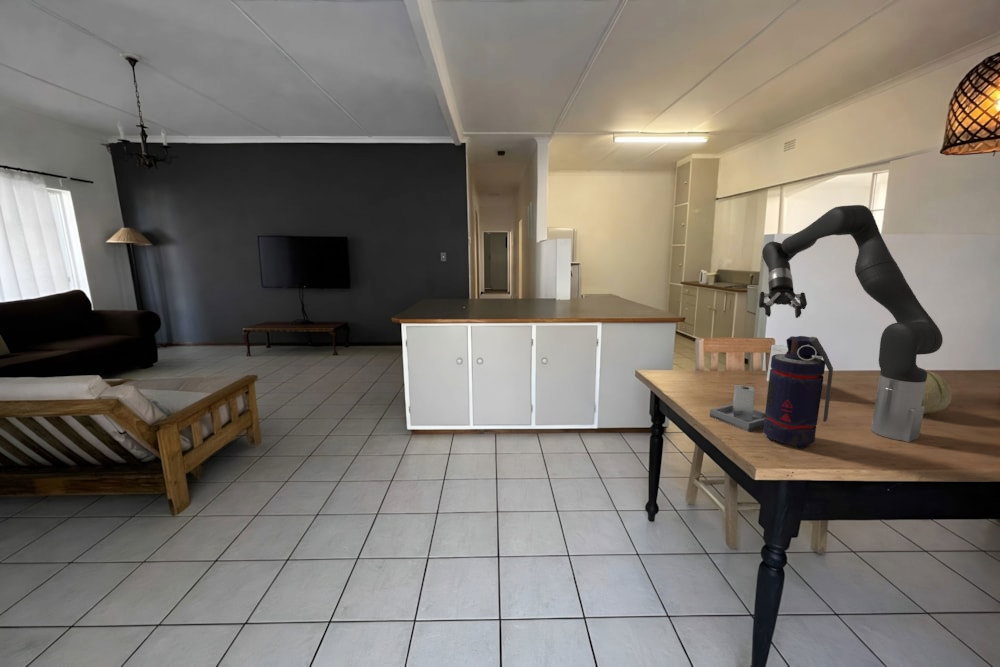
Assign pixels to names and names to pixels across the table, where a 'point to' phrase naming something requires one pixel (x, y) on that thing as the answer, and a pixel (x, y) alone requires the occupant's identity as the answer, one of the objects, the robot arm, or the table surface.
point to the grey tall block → (743, 402)
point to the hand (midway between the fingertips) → (783, 315)
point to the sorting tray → (726, 416)
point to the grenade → (796, 392)
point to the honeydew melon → (936, 393)
